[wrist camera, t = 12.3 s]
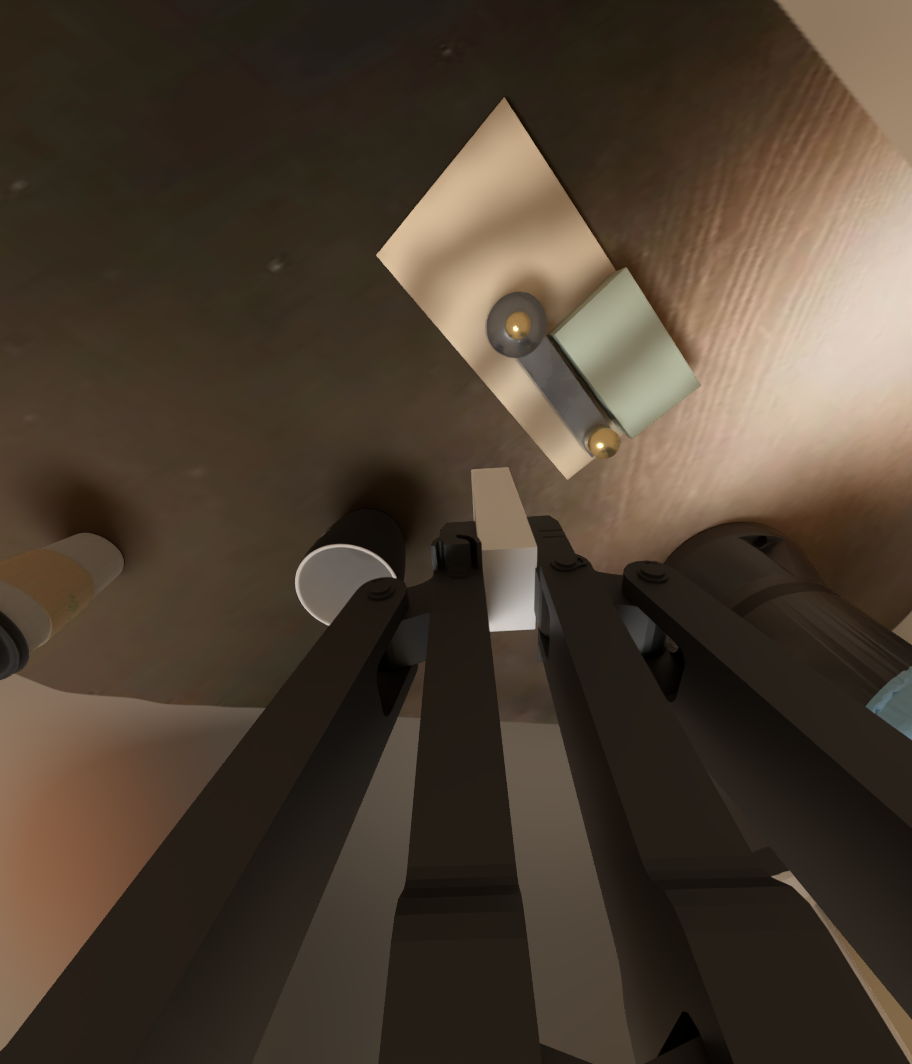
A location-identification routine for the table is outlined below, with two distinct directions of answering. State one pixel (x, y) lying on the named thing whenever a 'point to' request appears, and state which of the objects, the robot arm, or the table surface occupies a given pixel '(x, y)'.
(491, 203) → the board
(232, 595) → the table surface
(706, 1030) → the robot arm
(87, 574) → the coffee cup
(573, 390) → the latch bar
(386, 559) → the mug
